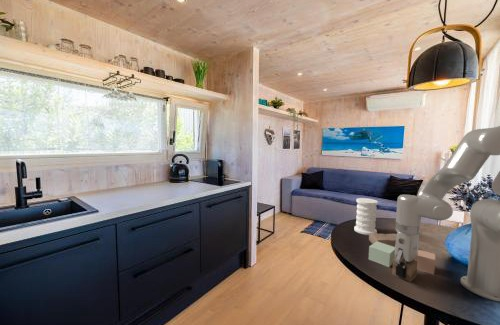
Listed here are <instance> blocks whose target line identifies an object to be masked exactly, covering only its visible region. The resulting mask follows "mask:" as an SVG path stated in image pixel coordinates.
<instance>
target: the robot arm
mask: <svg viewBox="0 0 500 325" xmlns="http://www.w3.org/2000/svg"><path fill="white" fill-rule="evenodd" d="M490 156H500V125H499V126H493V127H486V128H477V129H473V130H471V131H468V132H467V133H466V134H465V135H464V136H463V137H462V138H461V140H460V141H459V143H458V144H457V146H456V147H455V149H454V150H453V152H452V153H451V155H450V157H449V158H448V159H447V161H446V162H445V164H444V165H443V167H442V168H441V169H439V170H438V171H437V172H436V173H435V174H434V175H432V176H431V177H430V178H429V179H428V180H427V181H426V183H425V184H424V185H423V187H422V188H421V189H420V192H419V193H418V195H414V194H412V195H411V194H400V195H399V196H398V197H397V200H396V202H397V203H396V213H395V214H396V215H395V216H396V217H395V231H396V232H397V233H396V234H397V237H396V244H395V257H396V260H395V261H396V275H397V276H399V277H398V278H400V277H402V278H404V279H405V278H406V270H407V268H405V267H406V263H407V262H411V261H412V260H416V257H417V256H418V250H419V244H420V243H419V241H420V240H419V238H420V237H419V236H421V223H422V218H425V219H429V220H434V221H446V220H448V219H450V218H451V217H452V215H453V213H454V210H453V207H452V206H451V204H450V203H449V202H447V201H446V200H444V197H445V196H446V194H448V192H449V191H451V190H452V189H453V188H455V187H457V186H458V185H461V184H464V183H468V182H470V181H471V180H474V179H475V177H476V176H477V174H478V173H479V172H480V170H481V169H482V168H483V166H484V164H485V163H486V162H487V160H488V159H489V158H490ZM491 190H492V191H493V192H494V193H495V194H496V195H497V196H499V197H500V170H499V171H498V172H497V174H496V177H494V179H493V181H492V183H491ZM469 215H470V224H471V225H470V226H471V229H470V230H471V231H470V232H471V236H470V246H469V255H468V264H467V273H466V274H467V275H465V276H462V277H460V284H461V285H462V286H463V287H464V288H465V289H466V290H468V291H470V292H471V293H473V294H476V295H478V296H480V297H483V298H484V299H488V300H491V301H494V302H495V301H496V302H498V303H499V302H500V200H499V199H498V200H497V199H494V198H484V199H480V200H479V199H478V200H477V201H475V202H474V203H473V204H472V205H471V207H470V212H469ZM402 257H404V259H402ZM401 260H403V261H404V263H402V262H401ZM397 276H396V277H397ZM402 278H401V279H402ZM404 279H403V280H404Z"/></svg>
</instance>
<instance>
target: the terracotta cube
mask: <svg viewBox="0 0 500 325" xmlns="http://www.w3.org/2000/svg"><path fill="white" fill-rule="evenodd" d="M414 260H415V261H417V271H420V272H424V273H427V274H430V275H435V268H436V254H435V253H433V252H429V251H425V250H420V249H418V256H417V257H416V258H415V259H414Z"/></svg>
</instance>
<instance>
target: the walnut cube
mask: <svg viewBox="0 0 500 325" xmlns="http://www.w3.org/2000/svg"><path fill="white" fill-rule="evenodd" d="M402 259H404V257H402ZM395 260H396V258H394V259H393V264H392V273H391V274H392V275H393V276H396V277H398V278H400V279H402V280H404V281H407V282H409V283H411V282H412V281H413V280H414V279H415V278H416V277H417V271H418V270H417V261H415V260H416V259H414V260H412V261H411V262H407V263H406V267H405V268H407V270H406V278H405V279H404V278H402V277H399V276H397V275H396V261H395ZM401 262H402V263H404V261H403V260H401Z"/></svg>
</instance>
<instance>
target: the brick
mask: <svg viewBox="0 0 500 325" xmlns="http://www.w3.org/2000/svg"><path fill="white" fill-rule="evenodd" d="M396 237H397V233H378V232H377V233H369V235H368V241H369V242H370V243H371V244H373V243H375V242H376V241H378V242H381V243H384V244H387V245H390V246H393V247H395V244H396Z"/></svg>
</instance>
